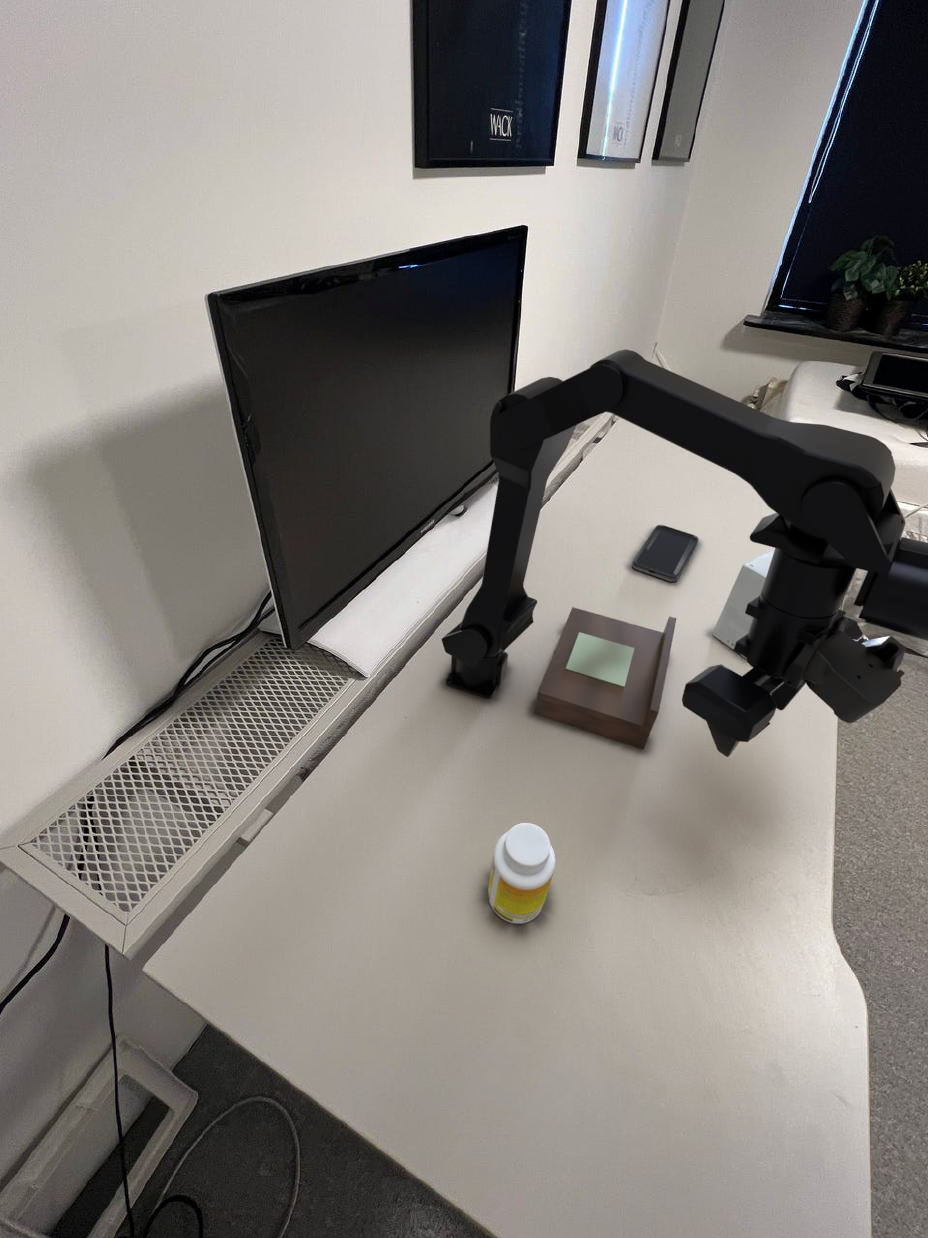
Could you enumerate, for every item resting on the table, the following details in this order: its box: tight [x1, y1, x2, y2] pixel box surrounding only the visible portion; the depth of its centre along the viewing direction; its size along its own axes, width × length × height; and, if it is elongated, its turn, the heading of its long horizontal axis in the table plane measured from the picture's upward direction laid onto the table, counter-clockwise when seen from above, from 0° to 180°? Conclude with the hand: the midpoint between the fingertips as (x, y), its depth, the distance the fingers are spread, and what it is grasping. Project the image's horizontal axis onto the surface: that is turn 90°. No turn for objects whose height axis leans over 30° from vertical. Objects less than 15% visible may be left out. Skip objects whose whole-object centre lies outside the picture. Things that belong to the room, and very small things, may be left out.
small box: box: [711, 549, 775, 659], centre depth 84 cm, size 8×6×13 cm
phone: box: [631, 524, 699, 583], centre depth 104 cm, size 8×1×15 cm
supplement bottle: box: [487, 822, 556, 924], centre depth 55 cm, size 6×6×10 cm
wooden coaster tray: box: [533, 606, 677, 750], centre depth 78 cm, size 14×18×7 cm
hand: (751, 729), depth 57 cm, fingers open, 9 cm apart
